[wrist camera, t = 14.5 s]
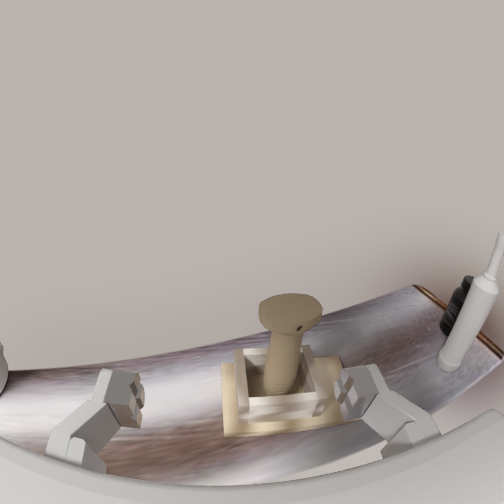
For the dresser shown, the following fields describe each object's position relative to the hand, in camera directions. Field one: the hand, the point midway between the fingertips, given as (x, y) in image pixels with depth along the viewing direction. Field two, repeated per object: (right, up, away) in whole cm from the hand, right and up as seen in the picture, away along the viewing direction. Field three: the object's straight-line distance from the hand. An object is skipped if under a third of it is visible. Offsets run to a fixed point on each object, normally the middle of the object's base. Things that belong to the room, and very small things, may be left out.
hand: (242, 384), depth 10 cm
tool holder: (+5, -15, +25) cm, 30 cm away
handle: (+4, -14, +24) cm, 28 cm away
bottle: (+35, -15, +29) cm, 48 cm away
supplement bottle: (+42, -11, +37) cm, 57 cm away
